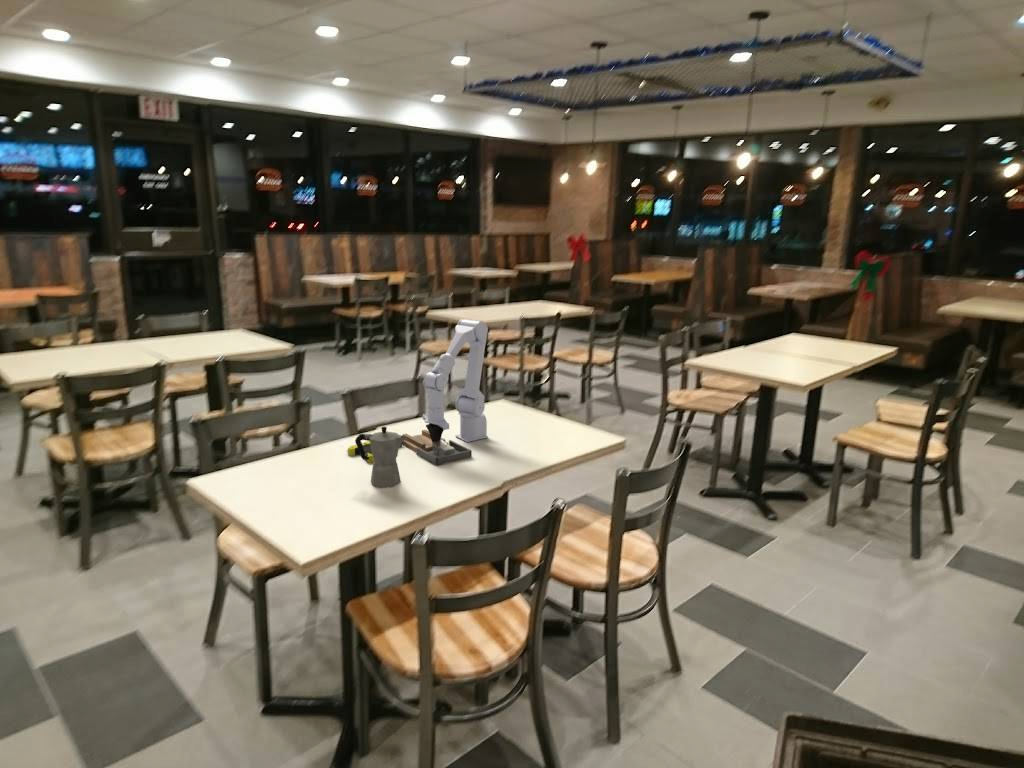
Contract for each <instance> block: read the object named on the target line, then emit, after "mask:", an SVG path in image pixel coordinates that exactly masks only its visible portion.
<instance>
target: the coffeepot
mask: <svg viewBox="0 0 1024 768" xmlns="http://www.w3.org/2000/svg"><path fill="white" fill-rule="evenodd" d="M380 428H381V431H379V432H374V433H360V434H359V435H358V436H356V437H355V440H354V442H355V445H357V447H358V450H359V452H360V454H359V455H360V457H361V459H362V460H363V461H364V460H365V461H367V460H369V457H366V456H365V451H364V449H363V446H362V443H363V442H362V441H365V442H367V441H370V445H371V450H372V455H373V458H374V462H373V464H372V470H371V477H370V483H371V485H372V486H373V487H374V488H378V489H388V488H389V489H390V488H393V487H396V486H399V484H400V483H402V481H401V480H402V479H401V475H400V471H399V466H398V462H397V457H399V456H398V455H399V454H398V453H399V449H400V448H401V447H402V446H401V444H402V442H403V441H404V440H405V439H406V437H405V436H403V434H402V435H401V434H399V433H398V432H393V431H387V428H388V427H387V426H382V427H380ZM402 445H403V444H402ZM400 446H401V447H400Z"/></svg>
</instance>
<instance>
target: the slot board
mask: <svg viewBox="0 0 1024 768" xmlns="http://www.w3.org/2000/svg"><path fill="white" fill-rule="evenodd" d="M402 436H405V437H406V439H405V440H404V441H403V442H402V446H405V447H406V448H408V449H410V450H412V451H413V452H415V453H416V448H417V447H419V448H420V449H422V450H424V451H428V450H432V440H431V436H430V433H429V431H428V429H422V430H421V434H416V435H413V436H412V435H409V434H408V433H402ZM440 440H443V441H444V442H446V439H445V438H443V437H441V439H440ZM446 443H447V444H448V445H449V442H446Z"/></svg>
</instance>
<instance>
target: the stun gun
mask: <svg viewBox="0 0 1024 768" xmlns="http://www.w3.org/2000/svg"><path fill="white" fill-rule="evenodd" d="M362 446H363V449H364V451H365V456H366V457H369V460H366V462H367V463H368V464H370V463H371V464H372V463H374V458H373V455H372V450H371V445H370V441H364V442H362ZM401 447H403V444H401V446H400V447H399V448H401ZM346 452H347V454H348V456H358V455H360V452H359V450H358V447H357V445H356V444H355V445H350V446H349V447H348V448H347V450H346Z"/></svg>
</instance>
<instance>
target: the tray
mask: <svg viewBox="0 0 1024 768" xmlns="http://www.w3.org/2000/svg"><path fill="white" fill-rule="evenodd" d="M448 445H450V446H452V447H453V448H455V454H451V455H446V456H442V457H441V456H439V454H436V453H435V452H434V451H433V450H428V451H424V450H422V449H420V448H419V447H417V448H416V452H415V455H417V456H419V457H421V458H423V459H424V460H425V461H427V462H429V463H431V464H433V465H434V466H441V465H444V464H449V463H453V462H458V461H460V460H461V461H462V460H465V459H469V458H472V457H473V453H472V449H469V448H467V447H465V446H463V445H461V444H460V443H457V442H455V441H453V440H451V439H450V440H448Z"/></svg>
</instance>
